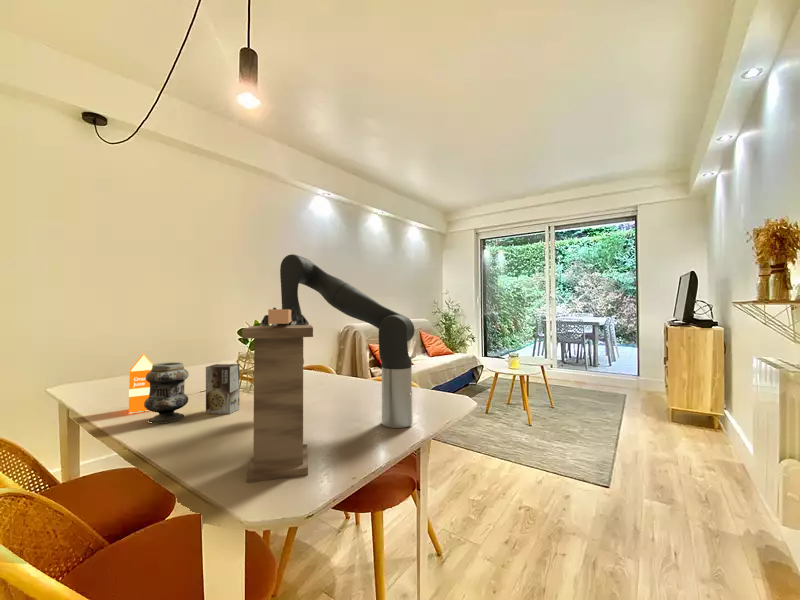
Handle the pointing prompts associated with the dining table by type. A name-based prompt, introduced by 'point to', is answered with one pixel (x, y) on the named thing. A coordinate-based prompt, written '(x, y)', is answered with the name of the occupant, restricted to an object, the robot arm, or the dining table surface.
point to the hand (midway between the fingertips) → (283, 310)
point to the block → (279, 316)
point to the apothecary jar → (166, 391)
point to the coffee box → (222, 388)
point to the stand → (278, 402)
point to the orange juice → (139, 384)
